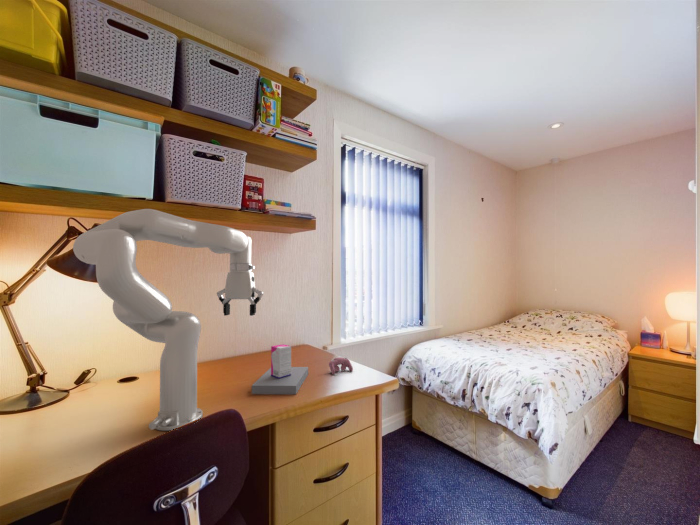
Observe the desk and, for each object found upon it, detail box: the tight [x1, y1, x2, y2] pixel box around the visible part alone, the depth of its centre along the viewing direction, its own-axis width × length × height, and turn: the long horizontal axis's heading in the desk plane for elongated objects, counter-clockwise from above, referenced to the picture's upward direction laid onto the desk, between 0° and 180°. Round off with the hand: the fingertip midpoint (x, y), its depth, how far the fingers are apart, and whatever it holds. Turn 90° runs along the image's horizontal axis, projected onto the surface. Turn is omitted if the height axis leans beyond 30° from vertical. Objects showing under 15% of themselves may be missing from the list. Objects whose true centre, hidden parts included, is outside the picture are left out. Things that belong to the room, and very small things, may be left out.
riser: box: [251, 366, 309, 395], centre depth 118 cm, size 22×16×3 cm
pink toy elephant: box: [328, 356, 354, 375], centre depth 132 cm, size 10×5×7 cm, turn 116°
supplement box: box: [270, 343, 292, 379], centre depth 118 cm, size 6×6×12 cm
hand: (239, 315), depth 111 cm, fingers open, 9 cm apart
